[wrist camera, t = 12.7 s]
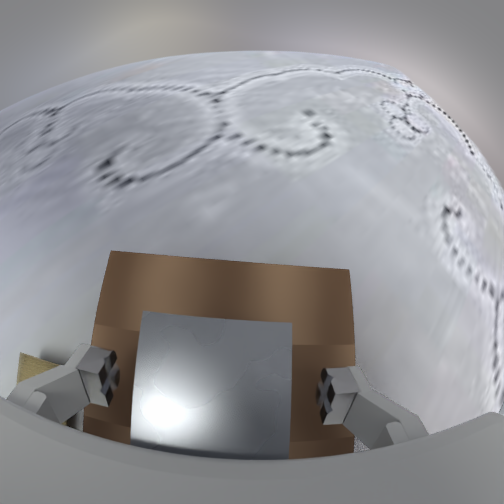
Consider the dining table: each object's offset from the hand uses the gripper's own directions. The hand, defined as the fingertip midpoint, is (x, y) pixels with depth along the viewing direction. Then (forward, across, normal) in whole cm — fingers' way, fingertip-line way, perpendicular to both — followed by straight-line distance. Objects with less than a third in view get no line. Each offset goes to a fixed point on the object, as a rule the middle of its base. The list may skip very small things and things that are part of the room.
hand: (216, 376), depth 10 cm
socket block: (+5, 0, +6) cm, 8 cm away
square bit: (+5, 0, +6) cm, 8 cm away
